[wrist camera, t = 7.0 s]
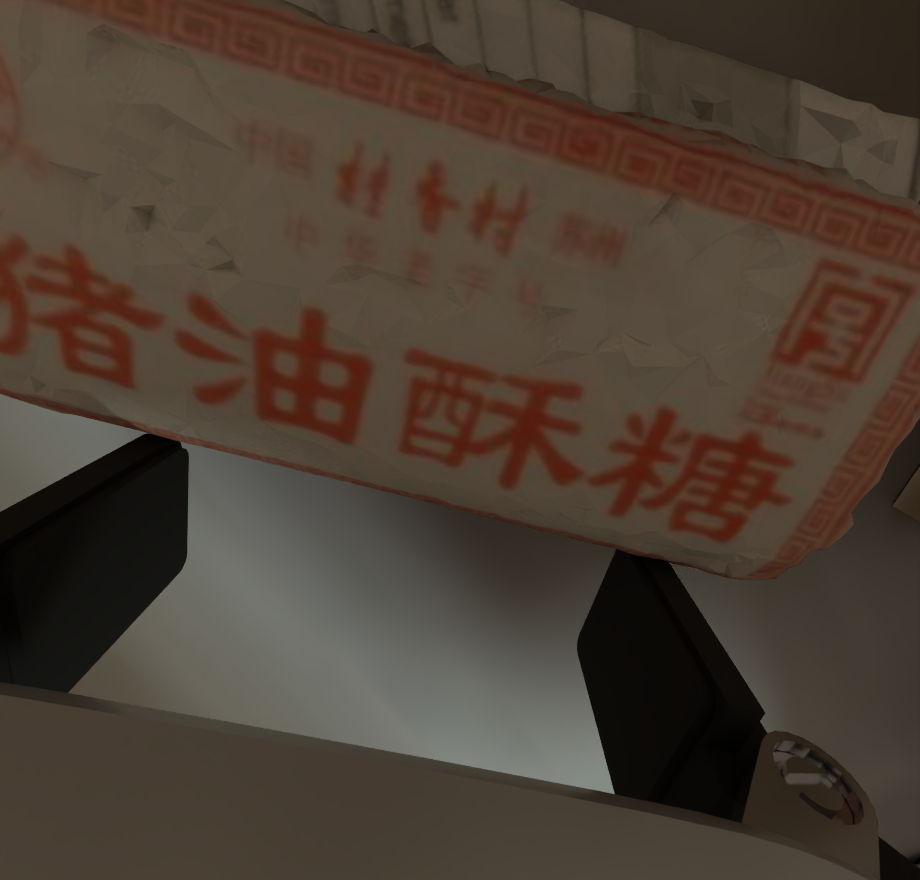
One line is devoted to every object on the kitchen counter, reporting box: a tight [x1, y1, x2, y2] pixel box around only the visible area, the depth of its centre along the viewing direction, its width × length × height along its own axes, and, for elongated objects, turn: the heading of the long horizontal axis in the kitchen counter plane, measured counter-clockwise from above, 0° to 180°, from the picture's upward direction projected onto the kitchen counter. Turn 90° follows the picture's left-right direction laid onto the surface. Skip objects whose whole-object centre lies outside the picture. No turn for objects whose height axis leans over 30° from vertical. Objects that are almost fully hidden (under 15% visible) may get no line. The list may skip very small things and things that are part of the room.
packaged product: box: [0, 0, 920, 580], centre depth 8 cm, size 18×5×10 cm
